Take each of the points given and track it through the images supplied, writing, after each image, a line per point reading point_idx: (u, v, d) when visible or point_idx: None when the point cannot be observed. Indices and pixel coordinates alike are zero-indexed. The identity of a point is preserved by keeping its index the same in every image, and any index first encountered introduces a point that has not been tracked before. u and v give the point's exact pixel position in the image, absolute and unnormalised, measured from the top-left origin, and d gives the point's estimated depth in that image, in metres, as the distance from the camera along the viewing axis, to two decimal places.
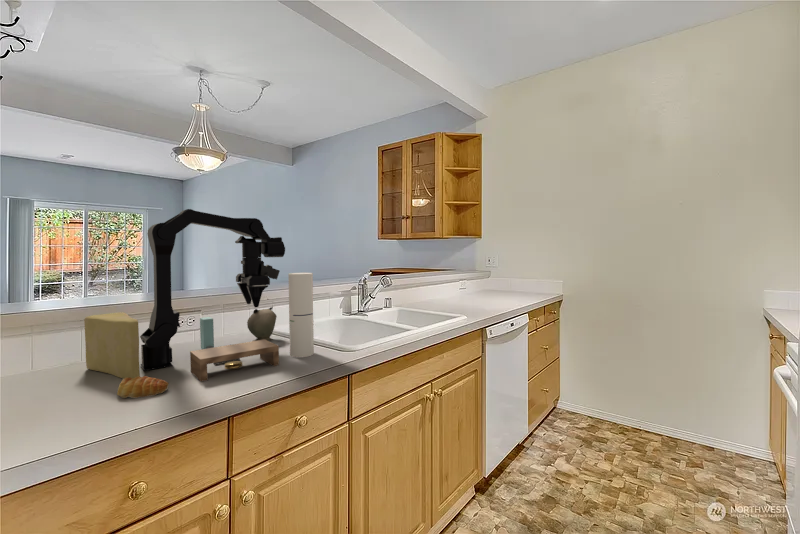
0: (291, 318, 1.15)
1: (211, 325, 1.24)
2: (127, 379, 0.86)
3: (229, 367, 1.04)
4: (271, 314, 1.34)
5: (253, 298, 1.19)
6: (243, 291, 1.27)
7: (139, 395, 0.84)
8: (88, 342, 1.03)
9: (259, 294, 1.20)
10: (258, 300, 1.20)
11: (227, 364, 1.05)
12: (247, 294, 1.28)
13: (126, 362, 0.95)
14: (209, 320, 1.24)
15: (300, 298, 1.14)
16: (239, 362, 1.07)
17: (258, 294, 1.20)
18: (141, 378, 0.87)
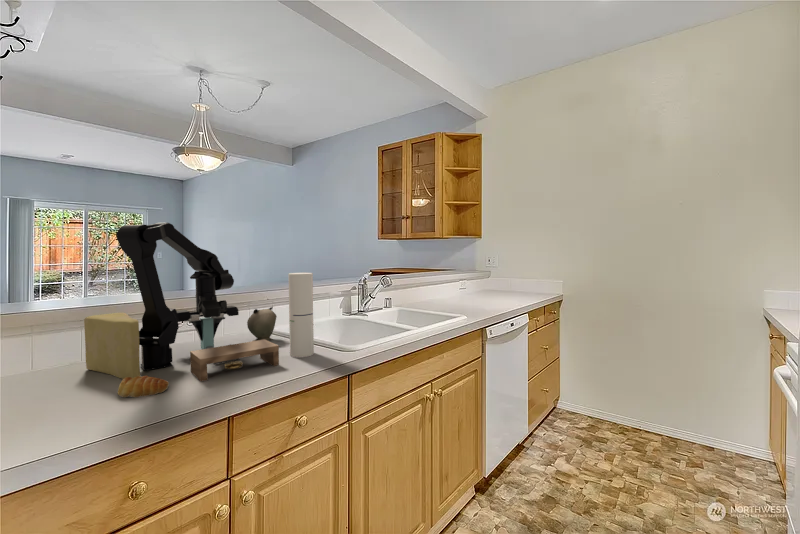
0: (291, 318, 1.15)
1: (211, 325, 1.24)
2: (127, 379, 0.86)
3: (229, 367, 1.04)
4: (271, 314, 1.34)
5: None
6: None
7: (140, 394, 0.85)
8: (88, 343, 1.02)
9: (197, 328, 1.23)
10: (198, 334, 1.23)
11: (227, 364, 1.05)
12: None
13: (127, 362, 0.94)
14: (209, 320, 1.24)
15: (300, 298, 1.14)
16: (239, 362, 1.07)
17: (197, 328, 1.23)
18: (142, 377, 0.87)
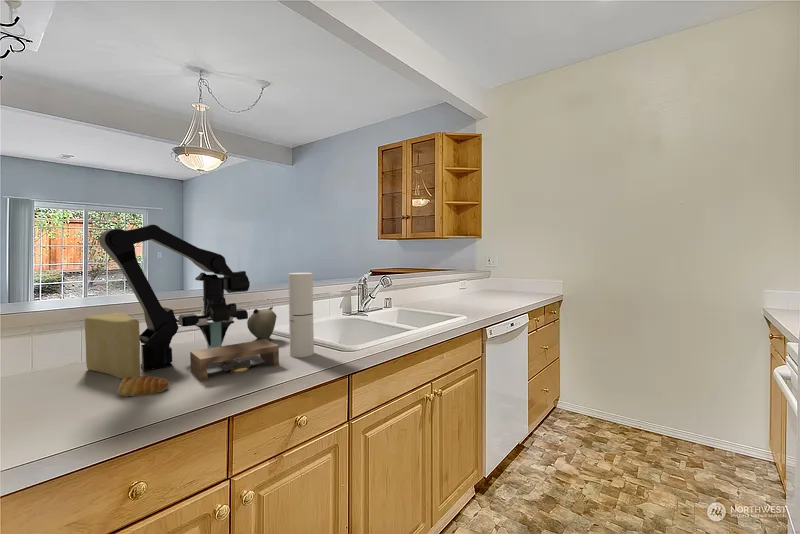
0: (291, 318, 1.15)
1: (219, 329, 1.18)
2: (128, 378, 0.87)
3: (235, 370, 1.00)
4: (271, 314, 1.34)
5: (204, 335, 1.18)
6: None
7: (140, 393, 0.85)
8: (89, 343, 1.02)
9: (204, 333, 1.16)
10: (206, 339, 1.17)
11: (233, 367, 1.02)
12: None
13: (127, 362, 0.94)
14: (217, 323, 1.18)
15: (300, 298, 1.14)
16: (245, 365, 1.03)
17: (204, 332, 1.16)
18: (142, 377, 0.88)
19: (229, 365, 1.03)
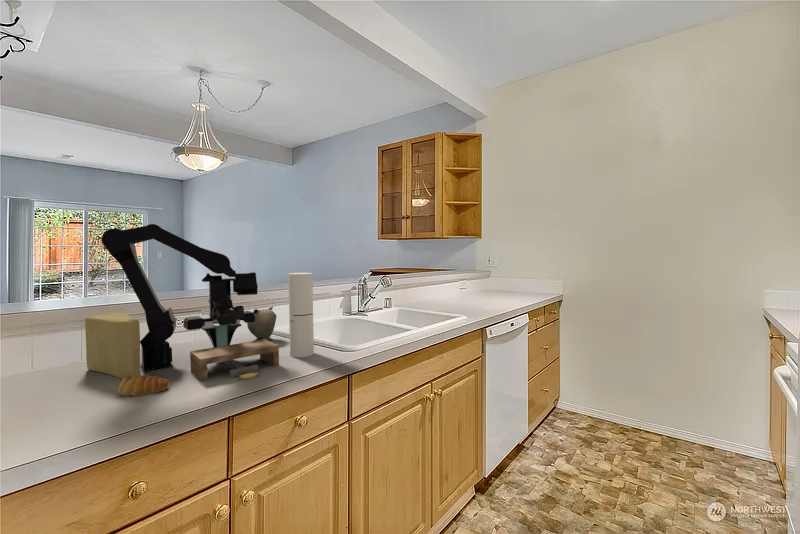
0: (291, 318, 1.15)
1: (225, 332, 1.14)
2: (128, 378, 0.87)
3: (244, 377, 0.96)
4: (271, 314, 1.34)
5: (210, 339, 1.13)
6: None
7: (141, 393, 0.85)
8: (89, 343, 1.02)
9: (211, 336, 1.11)
10: (212, 343, 1.12)
11: (241, 374, 0.97)
12: None
13: (127, 363, 0.94)
14: (222, 326, 1.13)
15: (300, 298, 1.14)
16: (253, 371, 0.99)
17: (211, 336, 1.11)
18: (142, 376, 0.88)
19: (236, 371, 0.98)
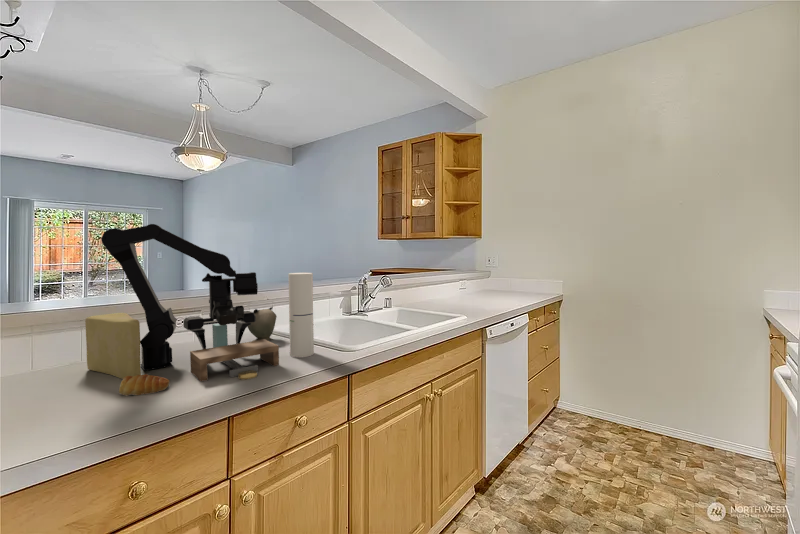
0: (291, 318, 1.15)
1: (225, 332, 1.14)
2: (128, 377, 0.87)
3: (244, 377, 0.95)
4: (271, 314, 1.34)
5: (199, 341, 1.11)
6: (236, 331, 1.18)
7: (142, 392, 0.86)
8: (89, 343, 1.02)
9: (200, 338, 1.09)
10: (201, 344, 1.10)
11: (241, 374, 0.97)
12: (237, 335, 1.17)
13: (127, 363, 0.94)
14: (222, 326, 1.13)
15: (300, 298, 1.14)
16: (253, 371, 0.99)
17: (200, 338, 1.09)
18: (143, 376, 0.88)
19: (236, 371, 0.98)
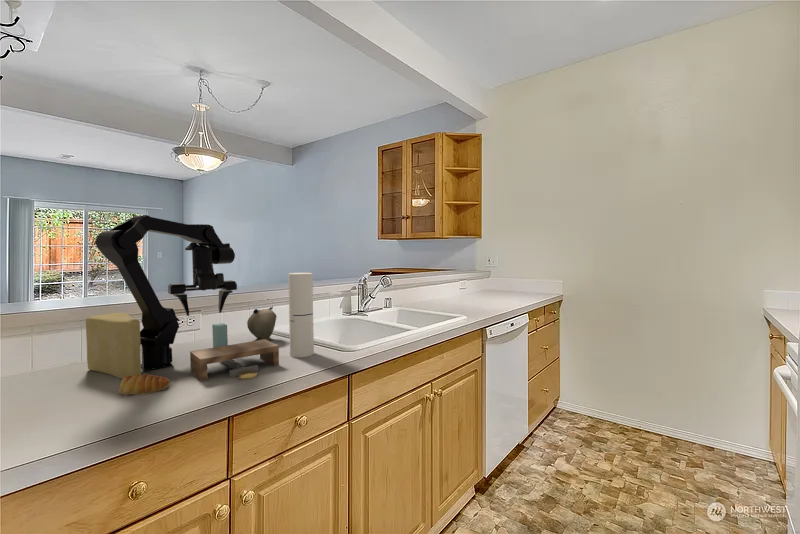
0: (291, 318, 1.15)
1: (225, 332, 1.14)
2: (128, 377, 0.88)
3: (244, 377, 0.95)
4: (271, 314, 1.34)
5: (183, 306, 1.18)
6: (219, 298, 1.25)
7: (142, 391, 0.86)
8: (90, 343, 1.02)
9: None
10: (184, 309, 1.17)
11: (241, 374, 0.97)
12: (219, 302, 1.24)
13: (128, 363, 0.94)
14: (222, 326, 1.13)
15: (300, 298, 1.14)
16: (253, 371, 0.99)
17: None
18: (143, 375, 0.88)
19: (236, 371, 0.98)
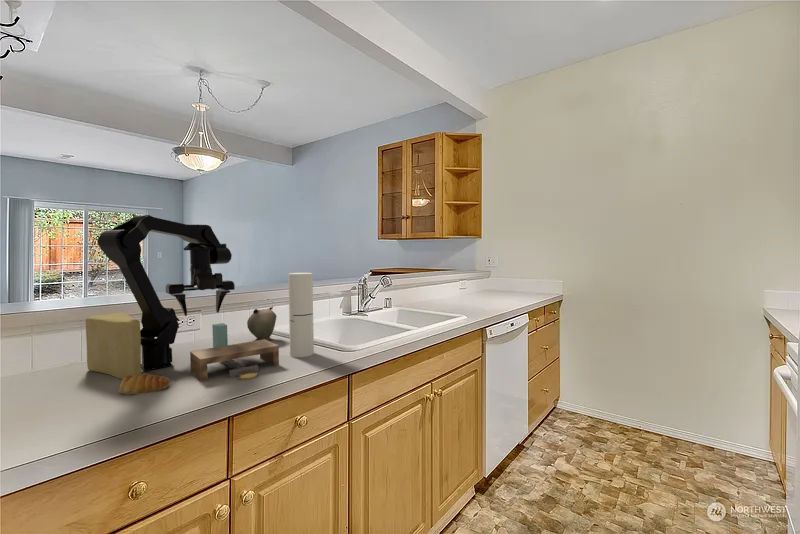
0: (291, 318, 1.15)
1: (225, 332, 1.14)
2: (128, 376, 0.88)
3: (244, 377, 0.95)
4: (271, 314, 1.34)
5: None
6: (216, 298, 1.26)
7: (142, 391, 0.86)
8: (89, 343, 1.02)
9: (181, 303, 1.17)
10: (182, 309, 1.17)
11: (241, 374, 0.97)
12: (217, 302, 1.25)
13: (128, 363, 0.94)
14: (223, 326, 1.13)
15: (300, 298, 1.14)
16: (253, 371, 0.99)
17: (181, 302, 1.17)
18: (143, 375, 0.89)
19: (236, 371, 0.98)
